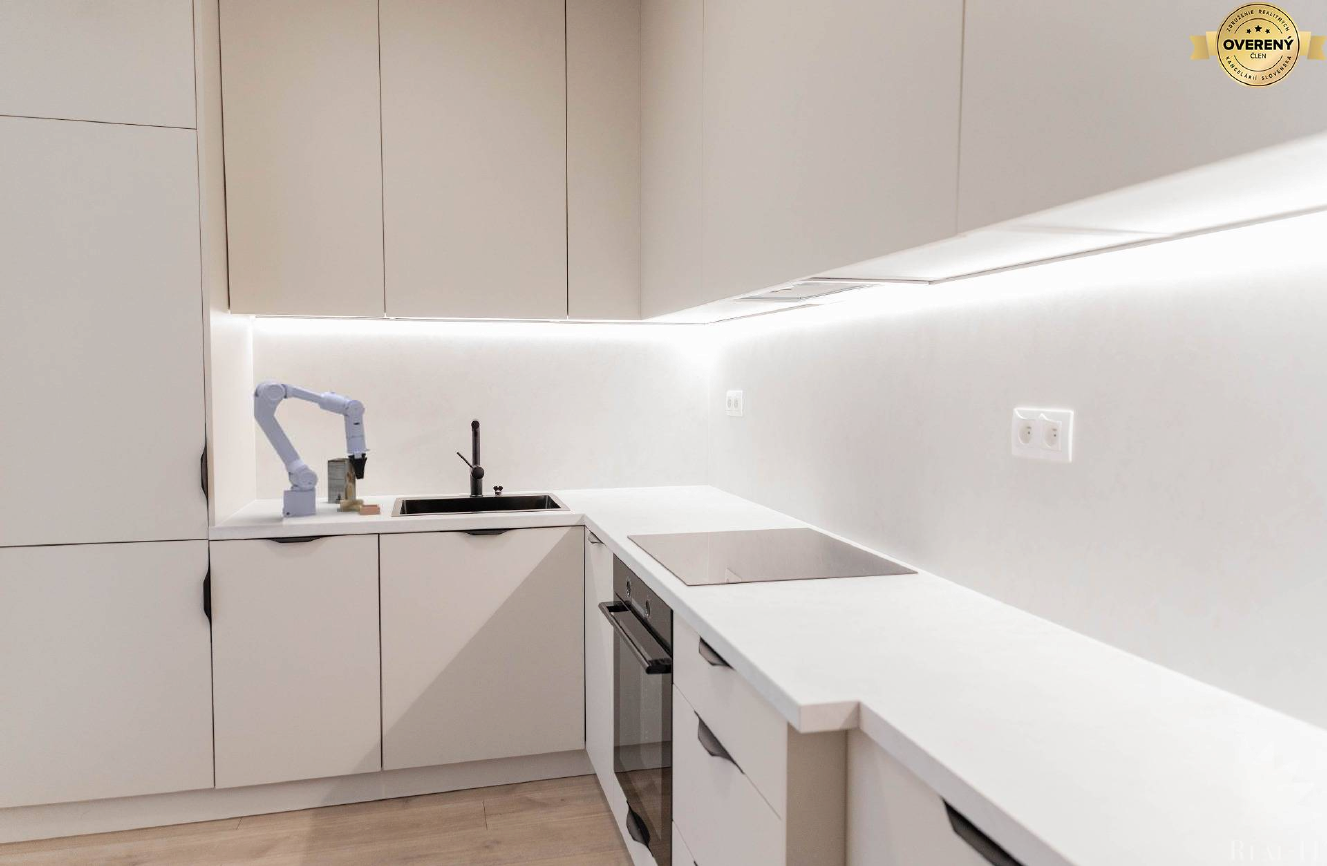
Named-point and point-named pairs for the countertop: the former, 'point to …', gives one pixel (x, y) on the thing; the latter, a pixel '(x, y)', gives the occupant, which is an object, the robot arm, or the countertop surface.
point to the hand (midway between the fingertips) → (359, 477)
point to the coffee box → (341, 480)
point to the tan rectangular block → (351, 504)
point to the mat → (343, 511)
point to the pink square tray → (369, 509)
